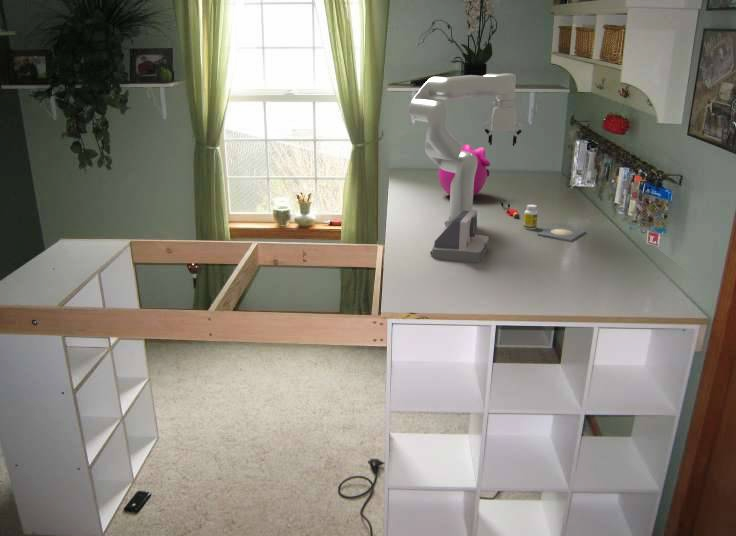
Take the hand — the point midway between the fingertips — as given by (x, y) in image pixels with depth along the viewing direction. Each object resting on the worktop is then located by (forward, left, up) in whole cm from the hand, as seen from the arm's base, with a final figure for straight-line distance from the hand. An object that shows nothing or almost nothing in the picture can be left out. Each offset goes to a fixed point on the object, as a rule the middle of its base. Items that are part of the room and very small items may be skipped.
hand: (502, 145), depth 282 cm
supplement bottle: (-7, -19, -32) cm, 38 cm away
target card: (-7, -33, -32) cm, 46 cm away
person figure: (+10, -2, -33) cm, 34 cm away
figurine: (+24, +31, -32) cm, 51 cm away
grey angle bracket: (-54, -12, -33) cm, 64 cm away
